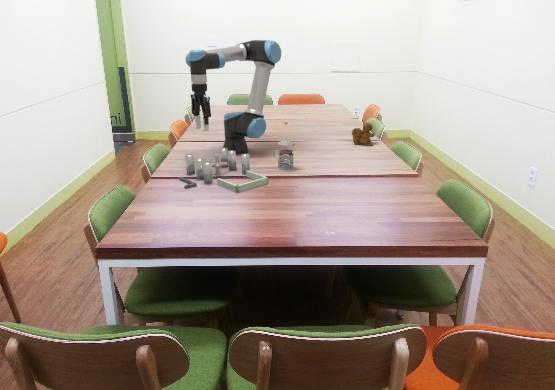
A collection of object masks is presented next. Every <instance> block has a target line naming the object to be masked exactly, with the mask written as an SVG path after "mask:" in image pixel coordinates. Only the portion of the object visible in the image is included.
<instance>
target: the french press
mask: <svg viewBox="0 0 555 390" xmlns="http://www.w3.org/2000/svg"><path fill="white" fill-rule="evenodd" d="M283 124H284V125H288V121H284V122H283ZM294 145H295V143H294V142H292V141H291V140H288V139H285V140H281V141H279V142H278V145H276V146H275V147H274V148H273V151H272V152H275V150H276V148H277V150H279V149H280V147H291V146H294ZM293 152H294V151H293V149H287V148H285V149H280V150H279V151H278V158H277V157H276V155H275V153H272V156H273V158H274V159H275V160H276V161H277V166H278V167H277V168H276V171H277V172H280V173H292V172H294V171H296V168H295V166H294V153H293Z"/></svg>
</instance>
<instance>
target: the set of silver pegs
mask: <svg viewBox="0 0 555 390" xmlns="http://www.w3.org/2000/svg"><path fill="white" fill-rule="evenodd" d="M194 155H195V154H194V153H186V154H185V156H184V157H185V166H186V169H185V170H186V175H187V174H188V176H194V175H195V174H196V180H198V181H201V180H202V181H203V183H204V185H212V184H213V180H214V179H213V167H212V164H211V163H212V162H211V161H205V159H204V158H203V157H197V158H194ZM240 156H241V174H242V175H243V174H244V176H245V175H246V171H248V170H249V171H251V164H250V161H251V160H250V153H248V152H246V153H243V154H240ZM219 159H220V160H219V161H220V163H223V162H227V166H220V169H221V168H222V169H228V171H230V172H234V171H237V154H236V151H235V150H229V151H228V148H223V147H220V148H219ZM193 174H194V175H193Z"/></svg>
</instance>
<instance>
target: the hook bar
mask: <svg viewBox="0 0 555 390" xmlns="http://www.w3.org/2000/svg"><path fill="white" fill-rule="evenodd" d="M178 180H179V181H181V182H183V183H186V184H185V185H184V187H183V188H184V189H185V190H188V189H191V188H195V187H198V183H197V182H195V181H192V180H190V179H188V178H186V177H183V176H178Z"/></svg>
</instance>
